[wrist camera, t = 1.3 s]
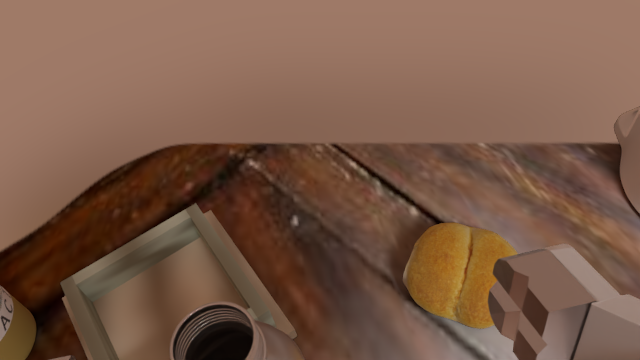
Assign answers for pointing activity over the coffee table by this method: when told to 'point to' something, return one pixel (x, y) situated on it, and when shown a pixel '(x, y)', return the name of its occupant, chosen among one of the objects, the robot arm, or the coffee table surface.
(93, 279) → the bottle stand
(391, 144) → the coffee table surface
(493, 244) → the bread roll
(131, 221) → the coffee table surface
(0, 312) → the paper tube
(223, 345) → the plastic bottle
